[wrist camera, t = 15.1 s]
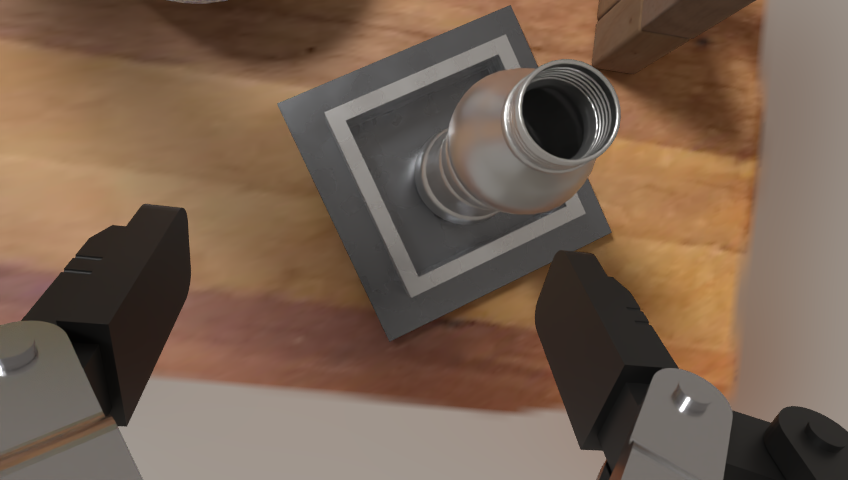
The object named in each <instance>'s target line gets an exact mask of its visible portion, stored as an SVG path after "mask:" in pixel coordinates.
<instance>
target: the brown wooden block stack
mask: <svg viewBox="0 0 848 480" xmlns="http://www.w3.org/2000/svg"><path fill="white" fill-rule="evenodd" d="M754 1H755V0H599V5H598V14H597V18H598V20H599V21H598V22H597V24H596V31H595V40H594V49H593V58H592V66H593V67H594V68H600V69H606V70H612V71H618V72H624V73H630V74H634V73H636V72H638V71H640V70H641V69H643V68H645V67H646V66H648V65H649V64H651V63H653V62H654V61H656V60H658V59H659V58H661V57H663V56H664V55H666V54H668V53H669V52H671V51H672V50H674V49H676V48H677V47H679V46H681V45H682V44H684V43H686V42H687V41H688V40H689V39H690V38H691V39H692V38H695V37H696V36H698V35H700V34H701V33H703V32H704V31H706V30H708V29H709V28H711V27H713V26H714V25H716V24H718V23H719V22H721V21H723V20H724V19H726V18H727V17H729V16H731V15H732V14H734V13H736V12H737V11H739V10H741V9H742V8H744V7H746V6H747V5H749V4H750V3H752V2H754Z"/></svg>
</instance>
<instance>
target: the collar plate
mask: <svg viewBox="0 0 848 480" xmlns="http://www.w3.org/2000/svg"><path fill="white" fill-rule="evenodd" d="M515 68H534V69H537V68H538V66H537V64H536V61H535V59H534V57H533V55H532V52H531V50H530V48H529V46H528V43H527V41H526V39H525V37H524V34H523V32H522V30H521V28H520V25H519V23H518V21H517V19H516V16H515V14H514V12H513V10H512V7H511V5H509V6H507V7H505V8H502V9H500V10H498V11H495V12H493V13H491V14H488V15H486V16H483V17H481V18H479V19H476V20H474V21H472V22H469V23H467V24H465V25H462V26H460V27H457V28H455V29H453V30H450V31H448V32H446V33H443V34H441V35H439V36H436V37H434V38H431V39H429V40H427V41H424V42H422V43H420V44H417V45H415V46H412V47H410V48H408V49H405V50H403V51H401V52H398V53H396V54H394V55H391V56H389V57H386V58H384V59H382V60H379V61H377V62H375V63H372V64H370V65H368V66H365V67H363V68H360V69H358V70H356V71H353V72H351V73H349V74H346V75H344V76H342V77H339V78H337V79H334V80H332V81H330V82H327V83H325V84H323V85H320V86H318V87H316V88H313V89H311V90H308V91H306V92H304V93H301V94H299V95H297V96H294V97H292V98H290V99H287V100H285V101H282V102H280V103H278V104H277V105H278V107H279V109H280V111H281V113H282V115H283V117H284V119H285V121H286V124H287V126H288V128H289V130H290V132H291V134H292V136H293V138H294V141H295V143H296V145H297V147H298V149H299V151H300V153H301V155H302V157H303V160H304V162H305V164H306V166H307V168H308V170H309V172H310V174H311V177H312V179H313V181H314V183H315V185H316V187H317V189H318V191H319V193H320V196H321V198H322V200H323V202H324V204H325V206H326V208H327V210H328V213H329V215H330V217H331V219H332V221H333V223H334V225H335V227H336V229H337V232H338V234H339V236H340V238H341V240H342V242H343V244H344V246H345V248H346V251H347V253H348V255H349V257H350V259H351V261H352V263H353V265H354V268H355V270H356V272H357V274H358V276H359V278H360V280H361V282H362V284H363V287H364V289H365V291H366V293H367V295H368V297H369V299H370V301H371V304H372V306H373V308H374V310H375V312H376V314H377V316H378V318H379V320H380V323H381V325H382V327H383V329H384V331H385V333H386V335H387V337H388V340H389V342H390V341H392V340H394V339H396V338H398V337H400V336H402V335H404V334H406V333H408V332H410V331H412V330H414V329H416V328H418V327H420V326H422V325H424V324H426V323H429V322H431V321H433V320H435V319H437V318H439V317H441V316H443V315H445V314H447V313H449V312H451V311H453V310H455V309H457V308H459V307H461V306H463V305H465V304H467V303H469V302H471V301H473V300H475V299H477V298H479V297H481V296H483V295H485V294H488V293H490V292H492V291H494V290H496V289H498V288H500V287H502V286H504V285H506V284H508V283H510V282H512V281H514V280H516V279H518V278H520V277H522V276H524V275H526V274H528V273H530V272H532V271H534V270H536V269H538V268H540V267H542V266H544V265H546V264H549V263H551V262H552V260H553V258H554V256H555V254H556V253H557V252H558V251H559V250H565V251H575V250H577V249H579V248H581V247H583V246H585V245H587V244H589V243H591V242H593V241H595V240H597V239H599V238H601V237H603V236H605V235H608V234H610V233H612V232H611V230H610V227H609V225H608V223H607V221H606V218H605V216H604V214H603V212H602V209H601V207H600V205H599V203H598V200H597V198H596V196H595V194H594V192H593V189H592V187H591V185H590V183H589V180H588V178H587V180H586V181H585V183H584V184H583V186H582V187H581V188H580V189H579V190H578V191H577V193H576V194H575V195H574V196H573V197H572V198H571V199H569V200H568V201H566V202H565V203H564V204H562V205H561V206H559V207H557V208H554V209H552V210H550V211H547V212H543V213H538V214H510V213H505V212H499V213H498V214H496V215H495V216H493V217H492V218H490V219H488V220H486V221H484V222H481V223H477V224H472V225H461V224H456V223H452V222H449V221H447V220H444V219H442V218H441V217H439V216H437V215H436V214H434V213H433V212H432V211H431V210H430V209H429V208H428V207H427V206H426V204H425V203H424V202H423V200H422V199H421V197H420V195H419V192H418V190H417V187H416V183H415V172H414V170H415V163H416V159H417V157H418V154H419V151H420V150H421V148H422V147H423V145H424V144H425V143H426V142H427V141H428V140H429V139H430V138H431V137H432V136H433V135H435V134H436V133H438V132H439V131H442V130H444V129H447V128H449V123H450V121H451V118H452V115H453V113H454V110H455V109H456V106H457V105H458V103H459V101H460V100H461V98H462V97H463V95H464V94H465V93H466V92H467V91H468V90H469V89H470V88H471V87H472V86H473V85H474V84H475V83H476V82H478V81H479V80H481V79H482V78H484V77H485V76H488V75H490V74H493V73H496V72H498V71H503V70H509V69H515Z"/></svg>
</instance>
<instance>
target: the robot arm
mask: <svg viewBox="0 0 848 480" xmlns="http://www.w3.org/2000/svg"><path fill="white" fill-rule="evenodd" d="M190 279H191V264H190V249H189V235H188V220H187V213H186V211H185V209H184V208H178V207H169V206H160V205H151V204H143V205H142V206H141V207H140V208H139V210H138V211H137V212H136V214H135V215H134V216H133V218H132V219H131V220H130V222H129V223H128V225H127V226H116V225H112V226H110V227H108V228H107V229H105V230H103V231H101V232H99V233H98V234H96V235H94V236H92V237H91V238H89V239H88V240H87V242H86V243H85V244H84V245H83V246H82V248H81V249H80V250H79V251H78V253H77V254H76V257H75V258H73V259H72V260H71V261H70V262H69V263H68V265H67V266H66V267H65V268H64V272H61V273H60V274H59V276H58V277H57V278H56V279H55V280H54V282H53V283H52V284H51V285H50V286H49V288H48V289H47V290H46V291H45V293H44V294H43V295H42V296H41V297H40V299H39V300H38V301H37V302H36V303H35V305H34V306H33V307H32V308H31V309H30V311H29V312H28V313H27V314H26V316H25V317H24V318H23V319H22V320H21V321H19V322H12V323H8V324H4V325H0V480H143V479H142V477H141V475H140V473H139V471H138V469H137V466H136V464H135V462H134V460H133V458H132V456H131V454H130V452H129V450H128V447H127V445H126V443H125V441H124V439H123V437H122V435H121V432H120V430H119V428H118V426H127V425H128V423H129V420H130V418H131V416H132V414H133V412H134V410H135V408H136V406H137V404H138V401H139V399H140V397H141V395H142V393H143V390H144V388H145V386H146V384H147V382H148V380H149V378H150V376H151V373H152V371H153V369H154V367H155V365H156V363H157V361H158V358H159V356H160V354H161V352H162V350H163V348H164V345H165V343H166V341H167V339H168V337H169V335H170V333H171V330H172V328H173V326H174V324H175V322H176V320H177V317H178V315H179V313H180V311H181V309H182V307H183V305H184V302H185V300H186V298H187V295H188V291H189V286H190ZM535 325H536V330H537V333H538V335H539V338H540V341H541V343H542V346H543V349H544V352H545V354H546V357H547V360H548V362H549V365H550V368H551V370H552V373H553V376H554V379H555V381H556V384H557V387H558V389H559V392H560V395H561V398H562V400H563V403H564V406H565V408H566V411H567V414H568V416H569V419H570V422H571V425H572V427H573V430H574V433H575V436H576V438H577V441H578V444H579V446H580V449H581V450H602V451H604V454H605V457H606V461H605V463H604V465H603V466H602V468H601V470H600V472H599V475H598V478H597V480H848V432H847V431H846V430H845V429H844V428H842V427H841V426H840V425H839V424H837V423H836V422H834V421H833V420H831V419H829V418H828V417H826V416H824V415H822V414H820V413H818V412H815V411H813V410H810V409H807V408H803V407H796V406H791V407H786V408H784V409H782V410H781V411H780V413H779V414H778V415H777V416H776V418H775V419H774V420H773V422H772V423H770V422H767V421H763V420H760V419H757V418H754V417H751V416H748V415H745V414H742V413H738V412H735V411H732V409H731V406H730V404H729V402H728V401H727V399H726V398H725V397H724V395H723V394H722V393H721V392H720V391H719V390H718V389H717V388H716V387H715V386H713V385H712V384H711V383H709V382H708V381H706V380H705V379H703V378H702V377H700V376H698V375H696V374H694V373H691V372H688V371H685V370H682V369H679V368H678V366H677V365H676V363H675V362H674V360H673V359H672V357H671V356H670V354H669V352H668V351H667V349H666V348H665V346H664V345H663V343H662V341H661V340H660V338H659V337H658V335H657V334H656V332H655V330H654V329H653V327H652V326H651V325H649V321H648V319H647V318H646V316H645V315H644V313H643V312H641V311H640V307H639V305H638V304H637V302H636V301H635V299H634V297H633V296H632V294H631V293H630V292H629V291H628V290H627V289H626V288H625V287H624V286H622V285H621V284H620V283H619V282H618V281H617V280H615V279H614V278H613V277H608V276H607V275H606V273H605V271H604V270H603V268H602V266H601V265H600V263H599V261H598V260H597V258H596V257H595V255H594V254H592V253H584V252H575V251H565V250H559V251H558V252H557V253H556V254H555V256H554V258H553V260H552V263H551V266H550V268H549V271H548V274H547V277H546V279H545V282H544V285H543V288H542V290H541V293H540V296H539V298H538V301H537V305H536V310H535Z"/></svg>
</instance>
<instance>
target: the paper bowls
mask: <svg viewBox="0 0 848 480" xmlns="http://www.w3.org/2000/svg"><path fill="white" fill-rule="evenodd" d="M168 1H175V2H181V3H196V4H206V3H213V2H219V1H226V0H168Z"/></svg>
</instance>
